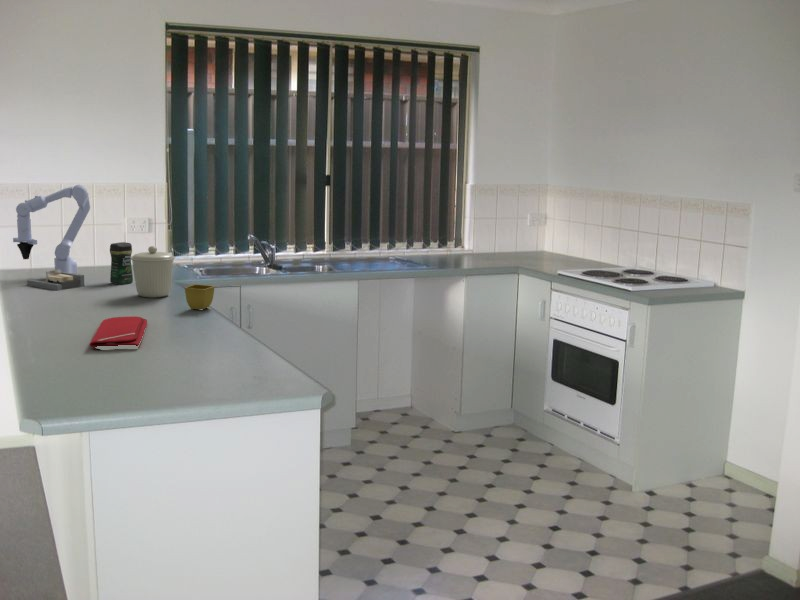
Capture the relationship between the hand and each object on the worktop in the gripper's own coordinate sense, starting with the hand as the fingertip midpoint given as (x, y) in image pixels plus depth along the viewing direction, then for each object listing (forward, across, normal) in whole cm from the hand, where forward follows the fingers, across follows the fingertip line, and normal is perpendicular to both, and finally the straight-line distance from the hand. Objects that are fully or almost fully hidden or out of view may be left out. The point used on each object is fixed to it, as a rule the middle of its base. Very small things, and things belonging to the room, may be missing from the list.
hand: (26, 259), depth 405 cm
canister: (+10, +74, +7) cm, 75 cm away
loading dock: (+10, +23, -2) cm, 25 cm away
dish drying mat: (+10, +120, -52) cm, 131 cm away
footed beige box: (+8, +26, -3) cm, 28 cm away
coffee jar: (+10, +40, +20) cm, 46 cm away
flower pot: (+10, +109, -2) cm, 109 cm away
